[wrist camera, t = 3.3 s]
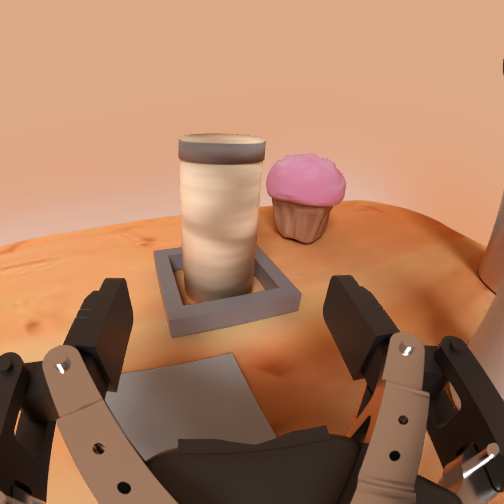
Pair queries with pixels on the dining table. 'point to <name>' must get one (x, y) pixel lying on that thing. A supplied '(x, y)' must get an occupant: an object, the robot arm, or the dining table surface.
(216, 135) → the beige tall cylinder
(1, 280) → the dining table surface
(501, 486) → the robot arm
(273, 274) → the socket collar
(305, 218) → the cupcake
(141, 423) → the mat
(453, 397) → the beverage can
